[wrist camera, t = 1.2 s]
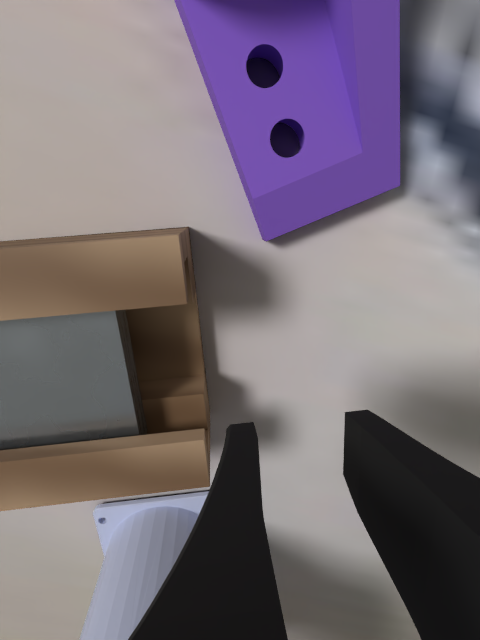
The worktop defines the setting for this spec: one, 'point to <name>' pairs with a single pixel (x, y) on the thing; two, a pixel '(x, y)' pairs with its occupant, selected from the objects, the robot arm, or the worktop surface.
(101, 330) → the cover plate
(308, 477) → the worktop surface
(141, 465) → the sleeve box
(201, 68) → the bracket
